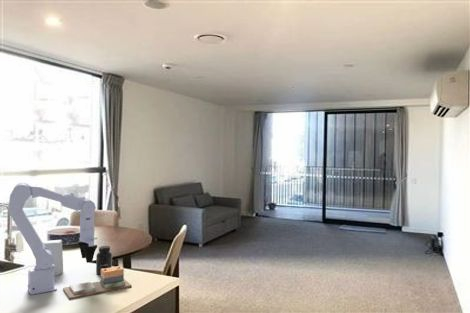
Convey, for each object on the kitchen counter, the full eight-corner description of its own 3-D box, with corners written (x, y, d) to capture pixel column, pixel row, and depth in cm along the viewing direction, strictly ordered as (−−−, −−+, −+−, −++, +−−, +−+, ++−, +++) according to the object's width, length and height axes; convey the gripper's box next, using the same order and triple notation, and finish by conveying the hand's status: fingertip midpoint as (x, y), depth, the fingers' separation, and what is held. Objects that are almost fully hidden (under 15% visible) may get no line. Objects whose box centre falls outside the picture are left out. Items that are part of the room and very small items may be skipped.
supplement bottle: (102, 276, 170) (103, 249, 170) (92, 273, 174) (93, 247, 174) (115, 272, 176) (115, 246, 176) (105, 269, 180) (105, 244, 179)
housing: (123, 280, 158) (123, 268, 158) (104, 284, 154) (104, 271, 154) (119, 277, 162) (119, 265, 162) (100, 281, 158) (100, 268, 158)
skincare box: (63, 270, 177) (63, 239, 177) (60, 275, 171) (60, 242, 171) (43, 272, 175) (43, 240, 175) (40, 276, 169) (40, 243, 169)
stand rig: (69, 299, 143) (69, 294, 143) (63, 290, 153) (63, 285, 153) (131, 287, 157) (131, 282, 157) (121, 279, 166) (122, 274, 166)
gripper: (101, 229, 157) (101, 262, 157) (92, 224, 169) (92, 254, 169) (83, 231, 153) (83, 265, 153) (75, 225, 165) (75, 257, 165)
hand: (87, 259), depth 161 cm, fingers open, 7 cm apart
